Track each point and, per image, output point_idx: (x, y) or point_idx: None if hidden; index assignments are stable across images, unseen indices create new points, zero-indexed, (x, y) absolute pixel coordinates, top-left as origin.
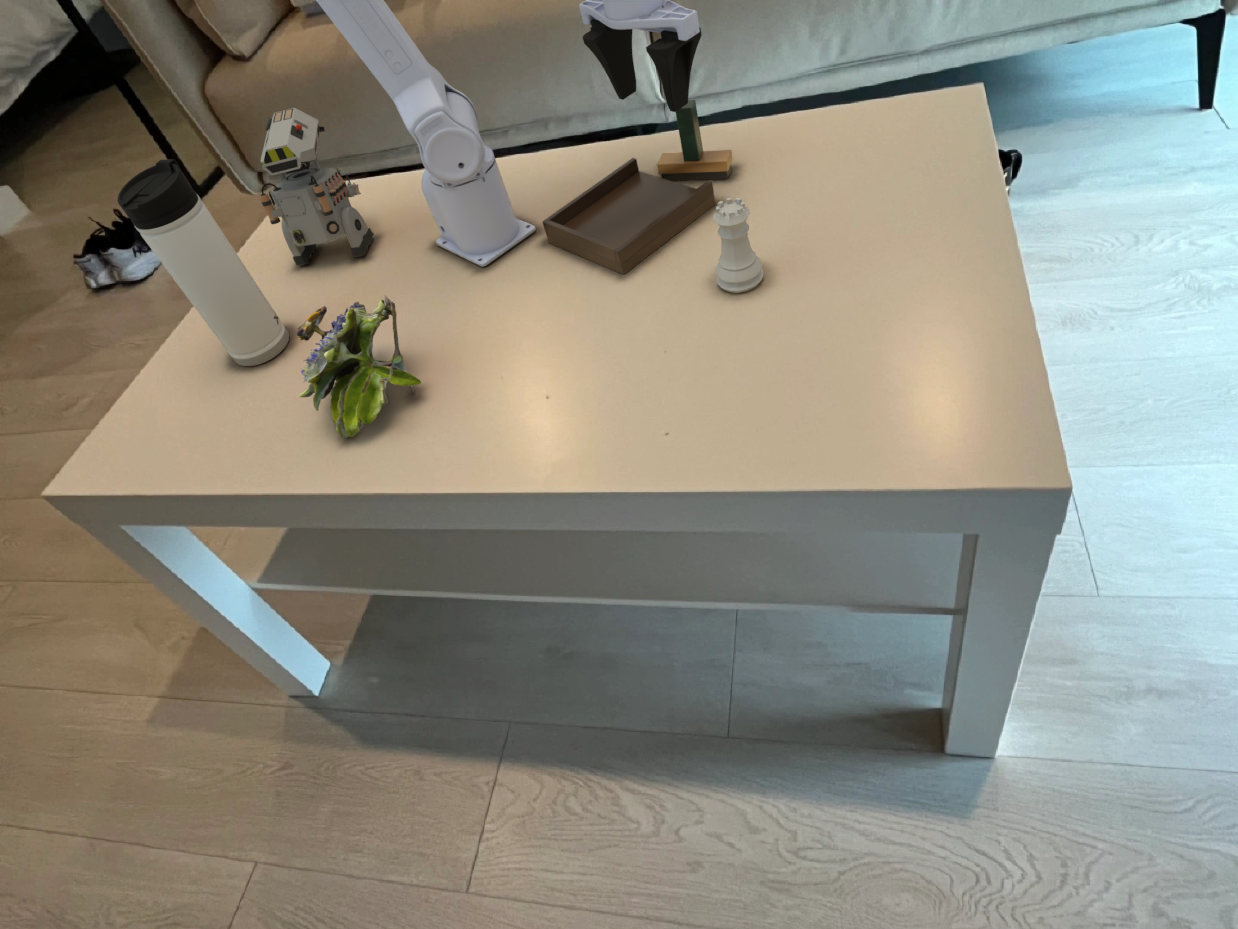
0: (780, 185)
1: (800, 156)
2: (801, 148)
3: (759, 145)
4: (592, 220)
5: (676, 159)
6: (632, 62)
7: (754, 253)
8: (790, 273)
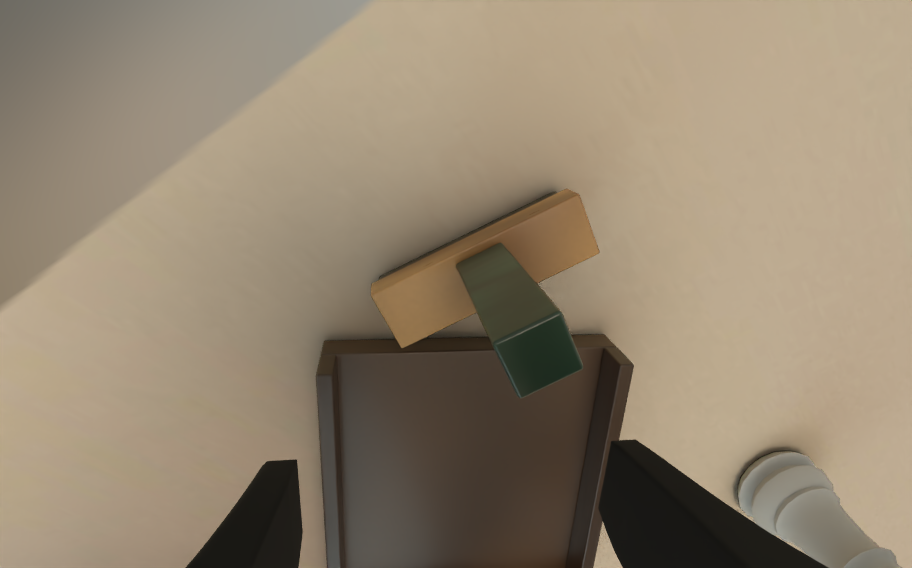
0: (717, 203)
1: (712, 50)
2: (697, 3)
3: (560, 34)
4: (400, 542)
5: (443, 305)
6: (255, 564)
7: (835, 496)
8: (843, 427)
